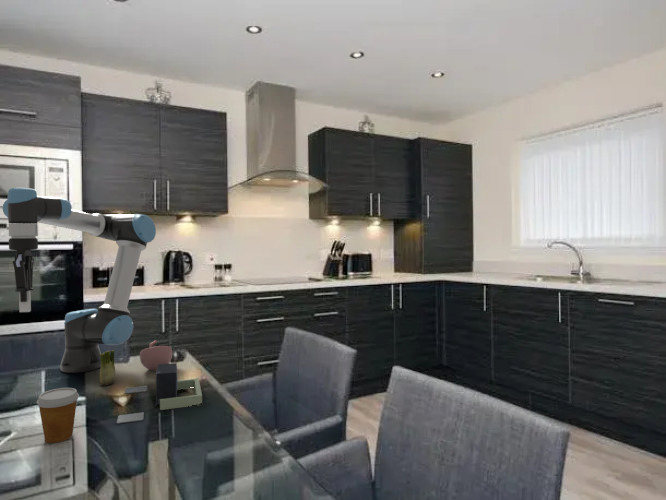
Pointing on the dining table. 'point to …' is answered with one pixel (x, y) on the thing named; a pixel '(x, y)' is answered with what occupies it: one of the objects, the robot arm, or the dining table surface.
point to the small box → (166, 381)
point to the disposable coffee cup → (58, 413)
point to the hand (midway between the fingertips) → (25, 311)
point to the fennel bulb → (107, 368)
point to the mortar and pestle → (155, 356)
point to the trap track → (168, 402)
